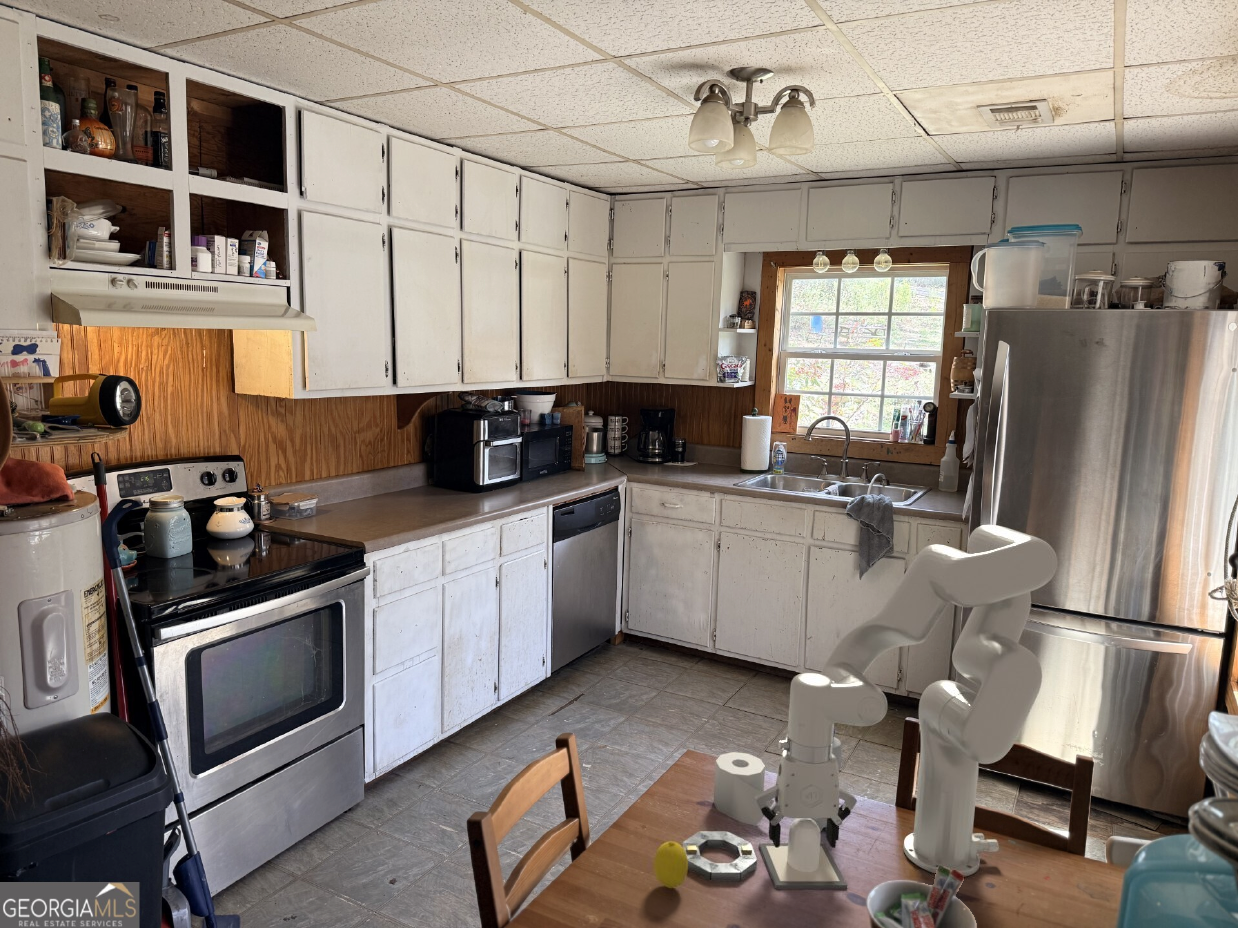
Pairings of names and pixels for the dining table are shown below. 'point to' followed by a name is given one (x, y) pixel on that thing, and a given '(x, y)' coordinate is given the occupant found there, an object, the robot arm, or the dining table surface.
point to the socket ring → (720, 870)
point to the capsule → (804, 845)
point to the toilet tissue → (739, 786)
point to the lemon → (670, 864)
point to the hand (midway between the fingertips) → (802, 842)
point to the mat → (794, 879)
